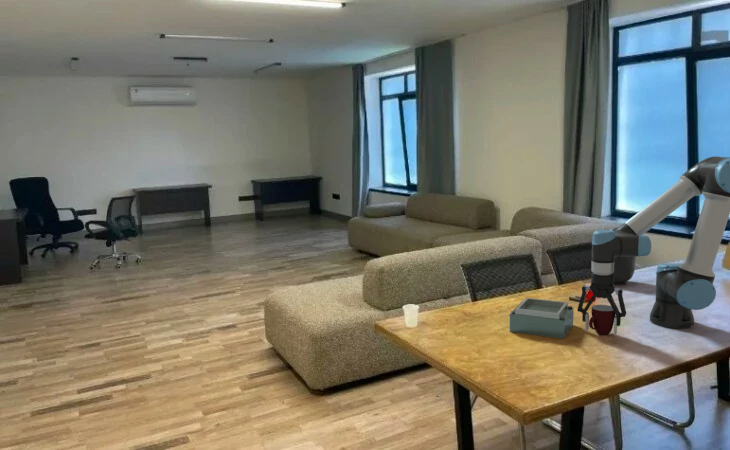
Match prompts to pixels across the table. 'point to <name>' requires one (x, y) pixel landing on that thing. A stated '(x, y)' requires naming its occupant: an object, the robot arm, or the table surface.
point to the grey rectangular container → (542, 318)
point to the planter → (623, 269)
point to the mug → (602, 319)
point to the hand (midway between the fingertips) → (600, 332)
